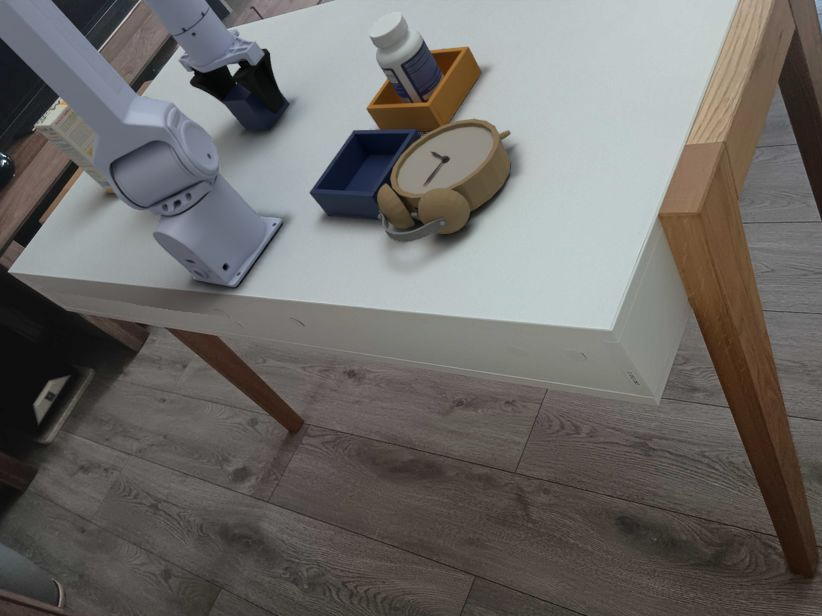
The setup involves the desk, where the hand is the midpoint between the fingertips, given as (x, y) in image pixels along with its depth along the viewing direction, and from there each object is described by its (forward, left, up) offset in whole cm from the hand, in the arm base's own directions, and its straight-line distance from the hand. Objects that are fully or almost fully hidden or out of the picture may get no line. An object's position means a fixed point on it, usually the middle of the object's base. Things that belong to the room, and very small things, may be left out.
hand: (261, 109), depth 99 cm
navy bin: (-11, -29, -1) cm, 31 cm away
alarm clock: (-12, -39, -2) cm, 41 cm away
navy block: (0, 0, -1) cm, 1 cm away
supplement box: (-11, +22, -2) cm, 25 cm away
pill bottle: (+1, -28, -1) cm, 28 cm away
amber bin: (+1, -28, -1) cm, 28 cm away
